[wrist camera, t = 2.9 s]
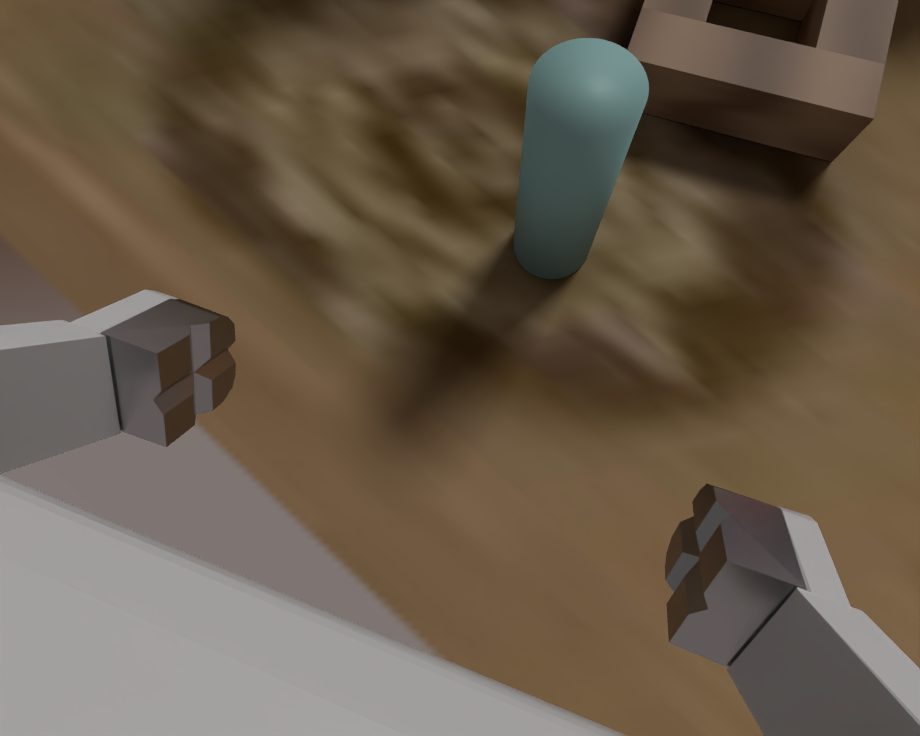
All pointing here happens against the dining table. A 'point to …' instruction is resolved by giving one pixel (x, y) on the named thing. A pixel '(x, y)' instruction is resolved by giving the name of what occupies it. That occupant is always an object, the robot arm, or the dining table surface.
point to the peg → (573, 150)
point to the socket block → (768, 70)
